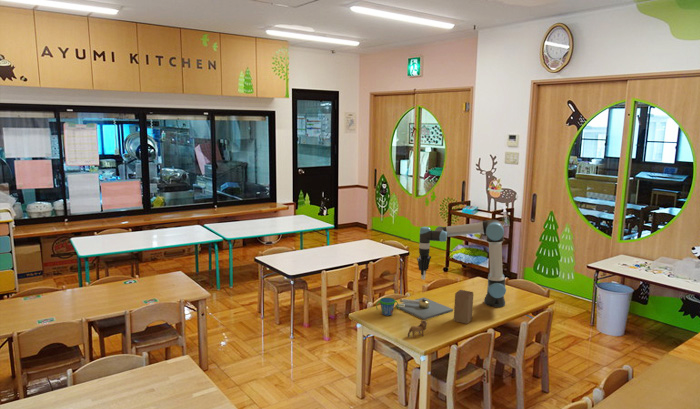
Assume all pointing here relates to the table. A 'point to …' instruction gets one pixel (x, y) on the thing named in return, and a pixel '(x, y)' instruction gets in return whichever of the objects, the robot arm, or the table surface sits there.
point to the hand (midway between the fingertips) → (423, 279)
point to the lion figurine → (418, 328)
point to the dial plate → (424, 309)
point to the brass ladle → (417, 302)
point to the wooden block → (463, 306)
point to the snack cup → (387, 305)
